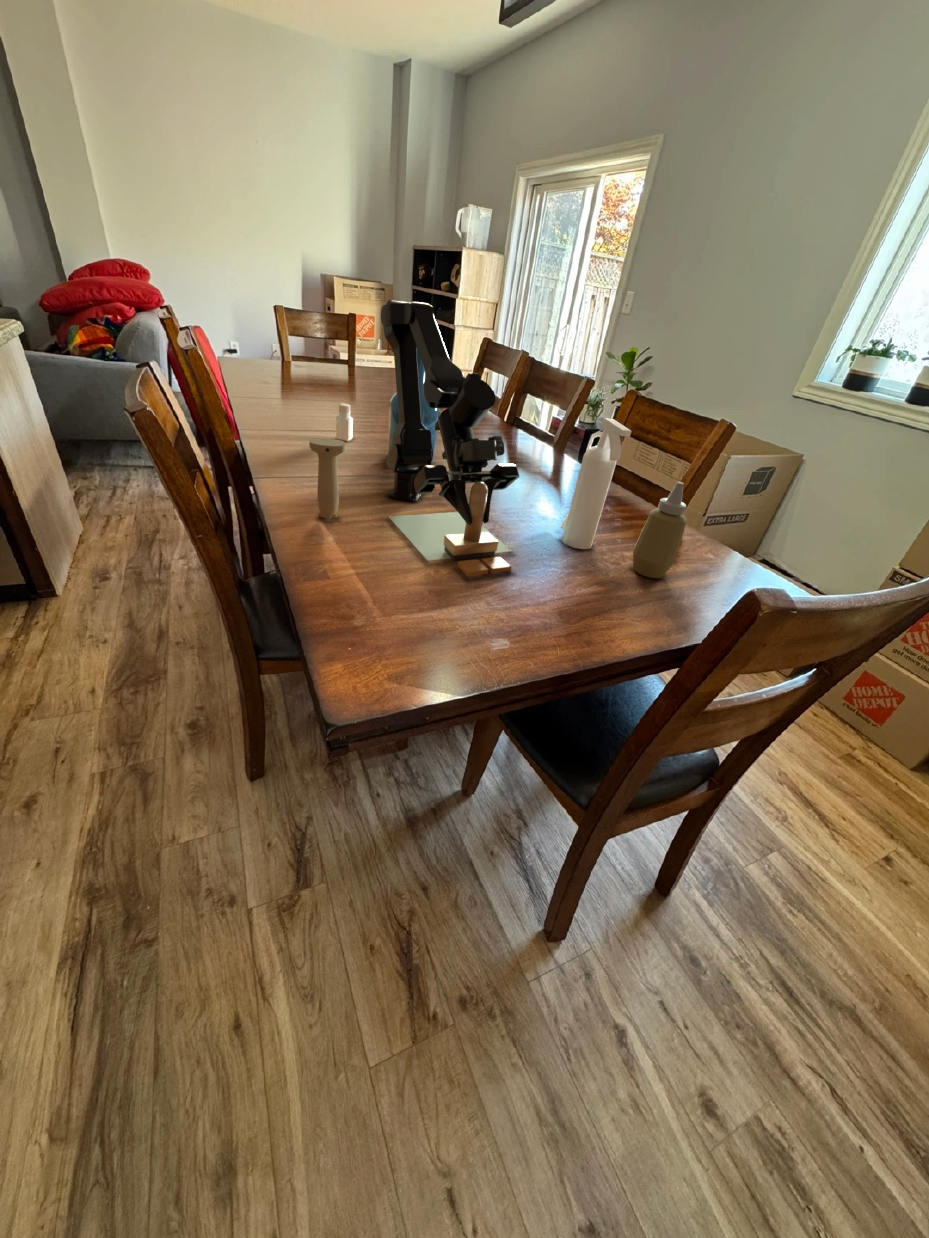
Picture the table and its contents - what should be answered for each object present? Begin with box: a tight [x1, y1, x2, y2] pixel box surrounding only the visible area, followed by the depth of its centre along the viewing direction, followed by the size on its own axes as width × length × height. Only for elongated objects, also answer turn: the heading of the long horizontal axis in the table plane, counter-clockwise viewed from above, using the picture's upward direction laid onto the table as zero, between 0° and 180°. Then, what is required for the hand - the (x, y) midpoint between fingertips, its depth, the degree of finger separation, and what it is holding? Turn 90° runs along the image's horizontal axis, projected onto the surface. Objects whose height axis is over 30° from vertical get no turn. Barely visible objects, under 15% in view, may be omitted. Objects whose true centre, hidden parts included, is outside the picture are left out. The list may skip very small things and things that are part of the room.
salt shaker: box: [335, 403, 354, 442], centre depth 147 cm, size 4×4×10 cm
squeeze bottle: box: [632, 481, 687, 579], centre depth 96 cm, size 8×8×18 cm
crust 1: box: [457, 558, 489, 577], centre depth 90 cm, size 4×4×2 cm
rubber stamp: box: [444, 482, 498, 561], centre depth 91 cm, size 9×4×14 cm, turn 117°
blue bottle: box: [386, 349, 441, 465], centre depth 133 cm, size 14×13×30 cm
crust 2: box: [480, 556, 512, 574], centre depth 92 cm, size 4×4×2 cm
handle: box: [309, 437, 347, 520], centre depth 97 cm, size 5×6×15 cm
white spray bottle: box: [559, 417, 632, 550], centre depth 102 cm, size 7×12×25 cm, turn 16°
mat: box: [387, 511, 513, 562], centre depth 102 cm, size 20×18×1 cm
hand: (478, 523), depth 90 cm, fingers closed on rubber stamp, 3 cm apart
